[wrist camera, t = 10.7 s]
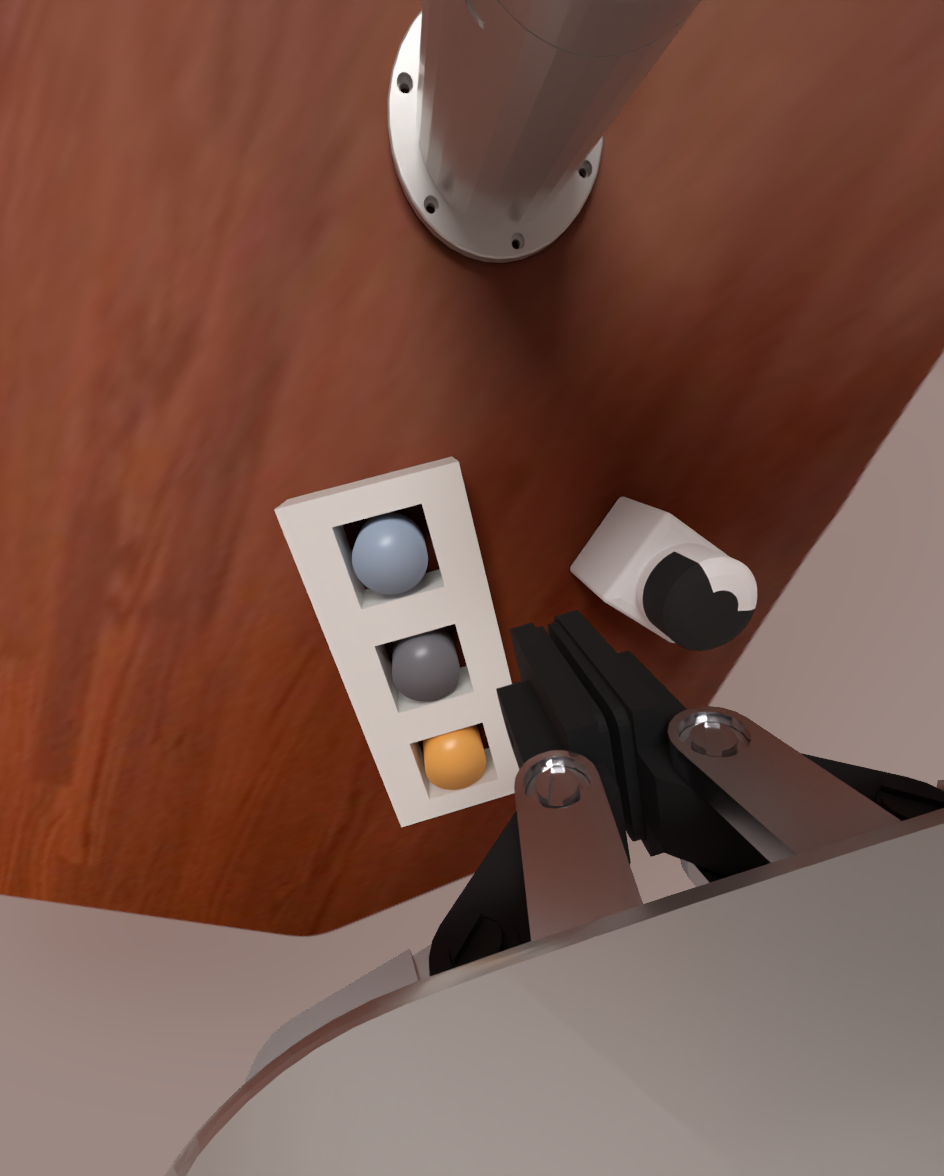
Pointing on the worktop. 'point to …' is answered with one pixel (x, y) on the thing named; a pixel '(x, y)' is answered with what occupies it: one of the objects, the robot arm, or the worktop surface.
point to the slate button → (390, 554)
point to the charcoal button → (425, 665)
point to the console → (408, 630)
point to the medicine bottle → (667, 577)
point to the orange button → (454, 758)
